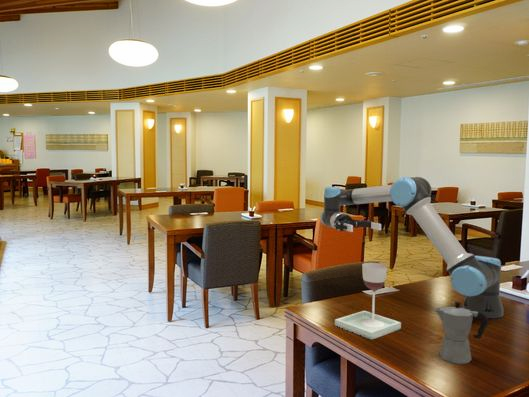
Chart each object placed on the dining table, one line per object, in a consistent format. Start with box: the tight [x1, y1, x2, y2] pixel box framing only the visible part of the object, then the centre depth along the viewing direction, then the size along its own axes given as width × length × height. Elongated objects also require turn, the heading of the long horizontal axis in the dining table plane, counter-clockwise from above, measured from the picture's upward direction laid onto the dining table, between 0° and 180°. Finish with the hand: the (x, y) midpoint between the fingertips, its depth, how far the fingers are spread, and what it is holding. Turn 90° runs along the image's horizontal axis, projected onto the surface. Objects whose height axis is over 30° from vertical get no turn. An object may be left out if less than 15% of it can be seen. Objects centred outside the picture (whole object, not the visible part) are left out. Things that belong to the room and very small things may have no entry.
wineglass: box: [361, 262, 388, 327], centre depth 171 cm, size 9×10×22 cm
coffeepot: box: [434, 301, 490, 365], centre depth 143 cm, size 15×9×18 cm, turn 66°
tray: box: [334, 310, 402, 340], centre depth 170 cm, size 17×17×2 cm
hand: (366, 227), depth 192 cm, fingers open, 13 cm apart
